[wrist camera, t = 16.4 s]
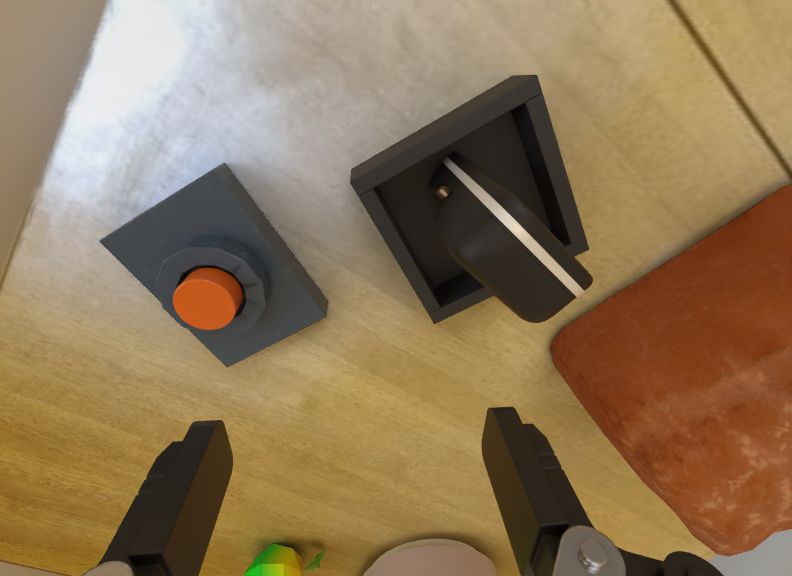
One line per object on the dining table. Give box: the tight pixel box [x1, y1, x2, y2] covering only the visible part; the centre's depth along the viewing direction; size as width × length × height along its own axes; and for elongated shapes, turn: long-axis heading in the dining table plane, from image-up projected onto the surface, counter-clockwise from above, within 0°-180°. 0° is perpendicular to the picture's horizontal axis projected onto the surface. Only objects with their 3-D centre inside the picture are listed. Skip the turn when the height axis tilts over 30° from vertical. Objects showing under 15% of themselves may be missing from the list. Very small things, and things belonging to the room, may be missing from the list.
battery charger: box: [429, 152, 593, 323], centre depth 21 cm, size 7×4×11 cm, turn 48°
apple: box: [245, 543, 326, 576], centre depth 43 cm, size 7×6×9 cm
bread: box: [550, 184, 792, 556], centre depth 27 cm, size 17×24×15 cm
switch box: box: [99, 163, 328, 367], centre depth 26 cm, size 12×9×4 cm
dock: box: [350, 75, 589, 324], centre depth 25 cm, size 12×12×4 cm
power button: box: [173, 267, 243, 330], centre depth 24 cm, size 4×4×2 cm
